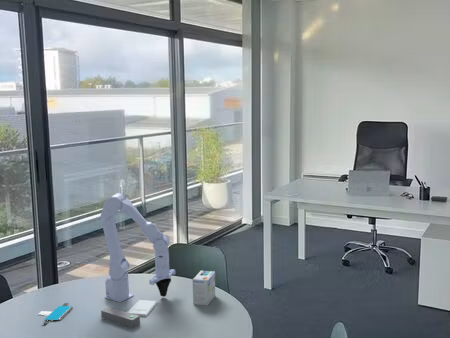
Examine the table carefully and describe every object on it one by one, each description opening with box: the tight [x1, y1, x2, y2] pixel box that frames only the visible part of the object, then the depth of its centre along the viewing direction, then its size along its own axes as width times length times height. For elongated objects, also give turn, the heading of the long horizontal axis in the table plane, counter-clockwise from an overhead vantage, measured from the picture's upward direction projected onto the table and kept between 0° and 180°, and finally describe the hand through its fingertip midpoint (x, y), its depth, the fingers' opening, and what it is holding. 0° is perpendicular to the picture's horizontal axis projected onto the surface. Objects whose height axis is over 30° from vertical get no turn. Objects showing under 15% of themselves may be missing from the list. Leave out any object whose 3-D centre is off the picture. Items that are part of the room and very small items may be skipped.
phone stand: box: [38, 302, 74, 324], centre depth 184 cm, size 20×12×2 cm, turn 174°
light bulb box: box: [192, 270, 216, 306], centre depth 194 cm, size 11×7×11 cm, turn 164°
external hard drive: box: [127, 299, 158, 318], centre depth 187 cm, size 2×8×12 cm
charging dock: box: [100, 306, 141, 329], centre depth 177 cm, size 16×4×3 cm, turn 57°
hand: (163, 295), depth 198 cm, fingers closed
